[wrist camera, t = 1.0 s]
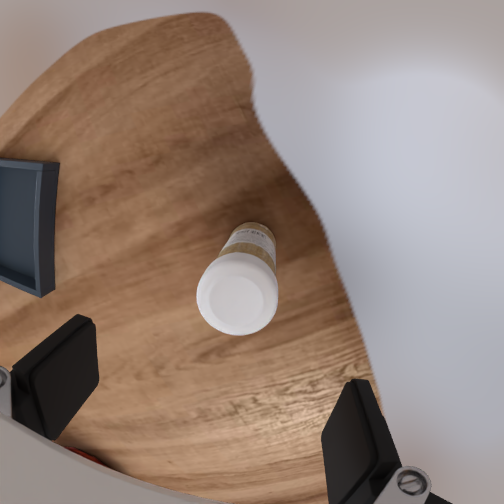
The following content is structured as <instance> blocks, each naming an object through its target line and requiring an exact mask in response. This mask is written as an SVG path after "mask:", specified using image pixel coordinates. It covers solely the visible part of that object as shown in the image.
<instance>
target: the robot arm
mask: <svg viewBox="0 0 504 504" xmlns="http://www.w3.org/2000/svg"><path fill="white" fill-rule="evenodd" d="M12 368H13V370H12V371H11V372H9V371H8V370H7V369H6V368H4V367H2V366H0V504H233V503H227V502H222V501H217V500H212V499H207V498H202V497H198V496H194V495H190V494H186V493H182V492H178V491H174V490H171V489H167V488H164V487H160V486H157V485H154V484H151V483H148V482H145V481H142V480H139V479H136V478H133V477H130V476H128V475H125V474H122V473H120V472H117V471H114V470H112V469H109V468H107V467H105V466H102V465H100V464H97V463H95V462H93V461H91V460H88V459H86V458H84V457H82V456H80V455H78V454H76V453H74V452H71V451H69V450H67V449H65V448H64V447H62V446H60V445H58V444H56V443H54V442H52V441H51V440H56V439H57V438H58V437H59V435H60V434H61V433H62V431H63V430H64V429H65V427H66V426H67V425H68V423H69V422H70V421H71V419H72V418H73V417H74V415H75V414H76V413H77V411H78V410H79V409H80V408H81V406H82V405H83V404H84V402H85V401H86V400H87V398H88V397H89V396H90V395H91V393H92V392H93V391H94V389H95V388H96V387H97V385H98V383H99V371H98V359H97V344H96V326H95V324H94V323H93V322H92V319H91V318H88V317H85V316H82V315H80V314H77V315H75V316H74V317H73V318H71V319H70V320H69V321H67V322H66V323H65V324H64V325H62V326H61V327H60V328H59V329H57V330H56V331H55V332H54V333H52V334H51V335H50V336H49V337H47V338H46V339H45V340H44V341H42V342H41V343H40V344H39V345H37V346H36V347H35V348H34V349H33V350H31V351H30V352H29V353H28V354H26V355H25V356H24V357H23V358H22V359H20V360H19V361H18V362H17V363H16V364H15V365H13V366H12ZM321 442H322V450H323V457H324V466H325V474H326V482H327V491H328V500H329V504H452V503H450V502H447V501H446V500H444V499H442V498H440V497H439V496H437V495H435V494H433V493H431V492H430V489H431V480H430V478H429V477H428V475H427V474H426V473H425V472H424V471H422V470H421V469H419V468H416V467H413V466H405V467H402V464H401V462H400V459H399V456H398V453H397V450H396V448H395V445H394V442H393V439H392V437H391V434H390V431H389V429H388V426H387V423H386V421H385V418H384V417H383V416H382V414H381V411H380V408H379V406H378V403H377V401H376V398H375V396H374V393H373V390H372V388H371V385H370V383H369V381H368V380H363V379H352V380H351V381H350V382H347V383H346V384H345V386H344V388H343V390H342V392H341V394H340V397H339V399H338V401H337V403H336V405H335V407H334V409H333V411H332V413H331V415H330V417H329V419H328V421H327V423H326V425H325V427H324V429H323V431H322V435H321Z"/></svg>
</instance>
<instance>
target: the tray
mask: <svg viewBox="0 0 504 504" xmlns="http://www.w3.org/2000/svg"><path fill="white" fill-rule="evenodd" d="M59 165H60V163H56V162H46V161H35V160H23V159H10V158H0V280H1V281H3V282H5V283H7V284H9V285H12V286H14V287H16V288H18V289H21V290H23V291H25V292H28V293H30V294H32V295H35V296H37V297H39V298H42V297H44V296H45V295H47V294H48V293H50V292H52V291H53V290H55V275H54V227H55V207H56V193H57V182H58V173H59Z"/></svg>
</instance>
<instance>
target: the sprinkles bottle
mask: <svg viewBox="0 0 504 504" xmlns="http://www.w3.org/2000/svg"><path fill="white" fill-rule="evenodd" d="M275 251H276V241H275V238H274V235H273V234H272V232H271V231H270V230H269V229H268V228H267V227H266V226H264V225H262V224H260V223H256V222H248V223H244V224H242V225H240V226H238V227H237V228H236V229H235V230H234V231H233V232H232V233H231V236H230V238H229V240H228V242H227V243H226V244H225V246H224V247H223V249H222V250H221V252H220V254H219V255H218V257H217V259H216V260H214V261H213V262H212V263H211V264H210V265H209V266H208V268H207V269H206V271H205V272H204V274H203V276H202V277H201V279H200V282H199V284H198V287H197V304H198V307H199V310H200V312H201V314H202V316H203V317H204V319H205V320H206V321H207V322H208V323H209V324H210V325H211V326H212V327H214V328H215V329H217V330H219V331H221V332H224V333H227V334H231V335H247V334H251V333H254V332H257V331H259V330H260V329H262V328H263V327H265V326H266V325H267V324H268V323H269V322H270V321H271V319H272V318H273V316H274V314H275V312H276V309H277V305H278V284H277V280H276V277H275V276H276V253H275Z"/></svg>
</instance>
